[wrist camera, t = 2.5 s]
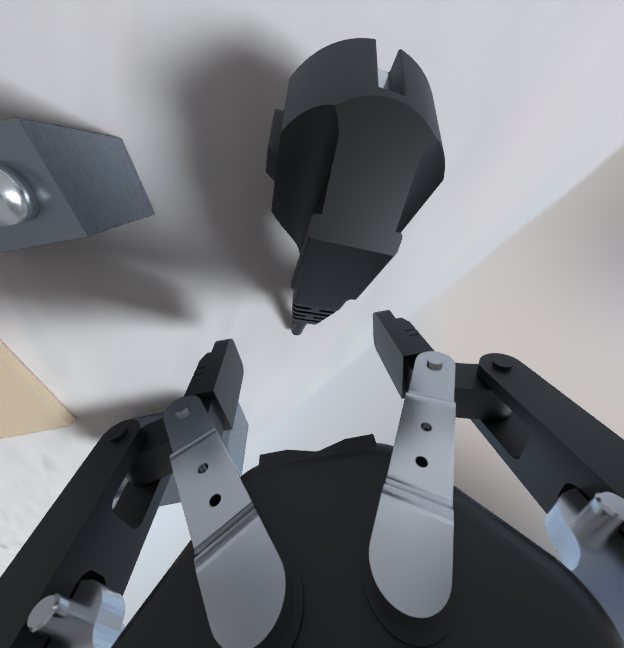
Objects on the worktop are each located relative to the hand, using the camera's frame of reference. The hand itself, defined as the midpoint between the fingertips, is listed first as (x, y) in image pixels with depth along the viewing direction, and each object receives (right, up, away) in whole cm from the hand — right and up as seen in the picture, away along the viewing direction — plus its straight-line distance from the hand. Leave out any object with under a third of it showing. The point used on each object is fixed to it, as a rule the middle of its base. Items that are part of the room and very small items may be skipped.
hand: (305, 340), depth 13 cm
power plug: (0, +3, +5) cm, 6 cm away
